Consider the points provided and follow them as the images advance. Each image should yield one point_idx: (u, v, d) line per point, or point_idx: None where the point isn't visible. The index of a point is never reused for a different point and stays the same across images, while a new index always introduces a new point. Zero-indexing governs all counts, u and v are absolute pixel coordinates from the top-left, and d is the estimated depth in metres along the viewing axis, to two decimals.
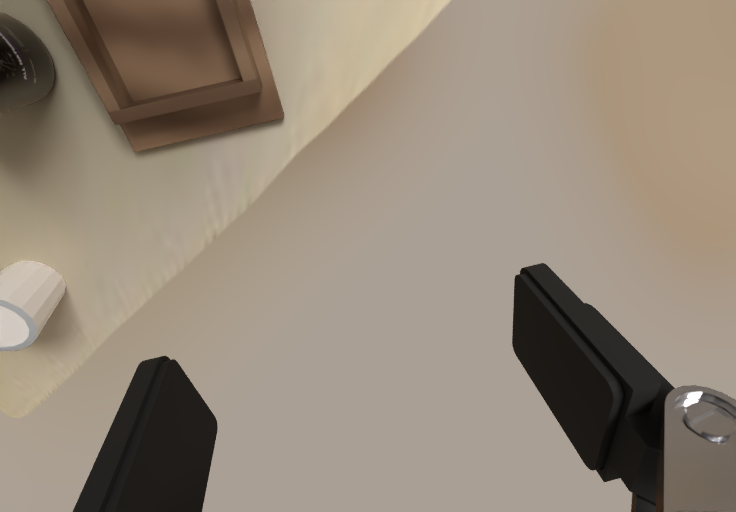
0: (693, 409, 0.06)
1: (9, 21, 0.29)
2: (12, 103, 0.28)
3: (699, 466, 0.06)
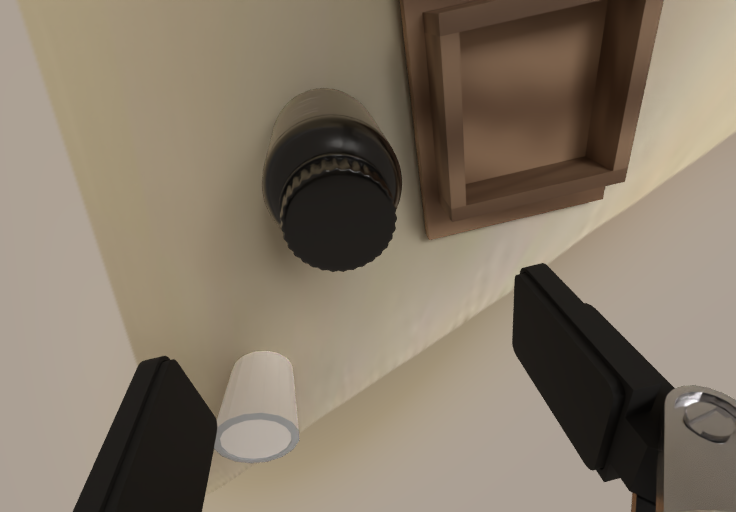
0: (693, 409, 0.06)
1: (361, 104, 0.23)
2: None
3: (699, 466, 0.06)
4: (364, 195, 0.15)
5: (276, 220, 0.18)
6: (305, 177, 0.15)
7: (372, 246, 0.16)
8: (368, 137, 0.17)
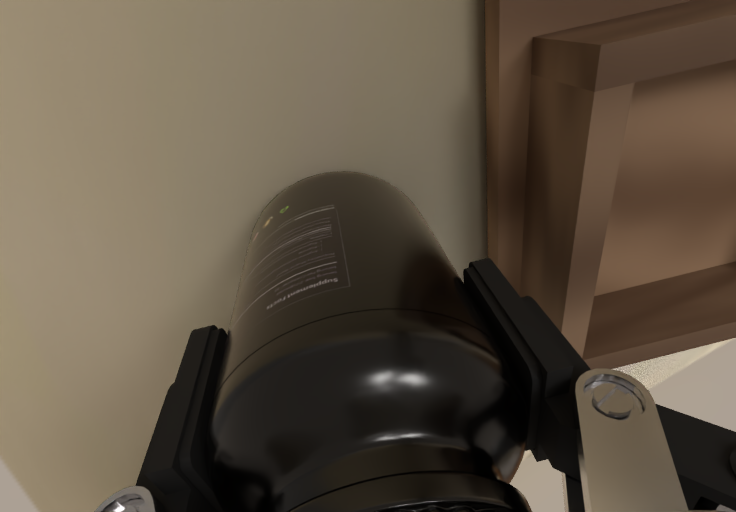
0: (598, 391, 0.07)
1: (408, 203, 0.13)
2: None
3: (595, 439, 0.06)
4: None
5: None
6: None
7: None
8: (473, 376, 0.06)
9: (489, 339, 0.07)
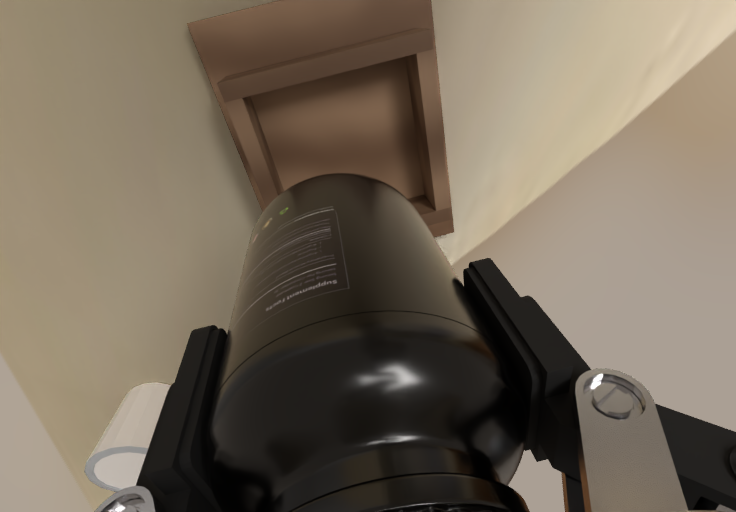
0: (598, 391, 0.07)
1: (408, 205, 0.13)
2: None
3: (595, 439, 0.06)
4: None
5: None
6: None
7: None
8: (473, 378, 0.06)
9: (488, 341, 0.07)
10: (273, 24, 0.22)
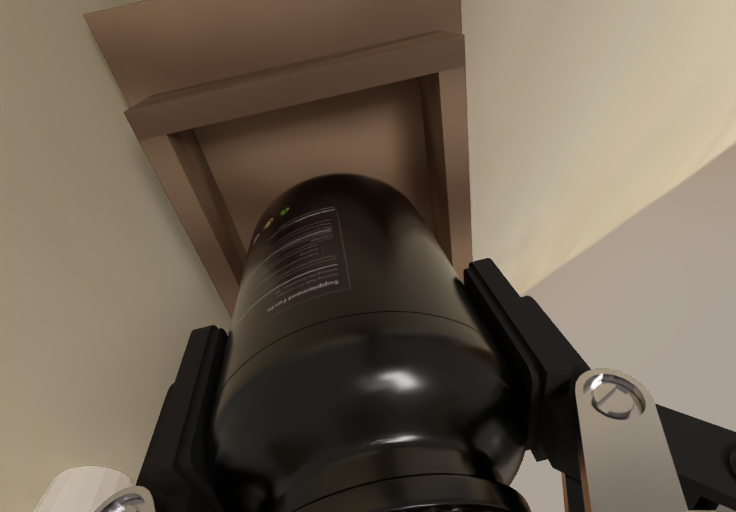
0: (598, 391, 0.07)
1: (409, 205, 0.13)
2: None
3: (595, 438, 0.06)
4: None
5: None
6: None
7: None
8: (474, 379, 0.06)
9: (489, 341, 0.07)
10: (221, 19, 0.15)
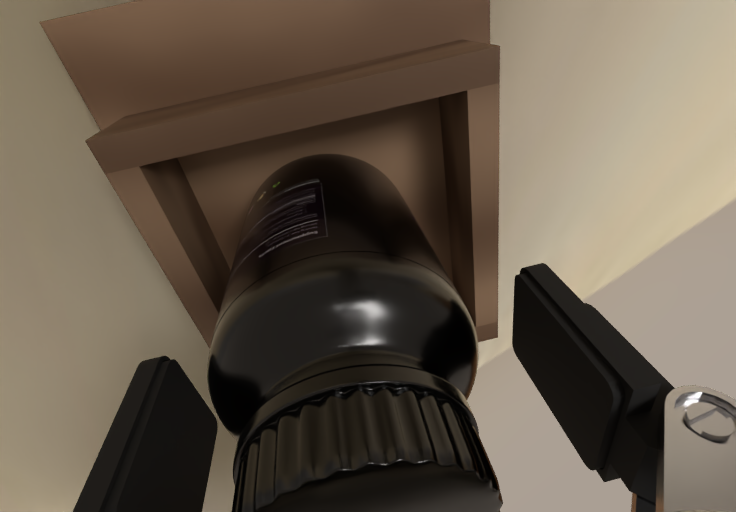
0: (693, 409, 0.06)
1: (387, 181, 0.14)
2: None
3: (699, 466, 0.06)
4: (435, 497, 0.06)
5: None
6: (287, 476, 0.06)
7: None
8: (425, 303, 0.08)
9: (442, 280, 0.09)
10: (206, 27, 0.12)
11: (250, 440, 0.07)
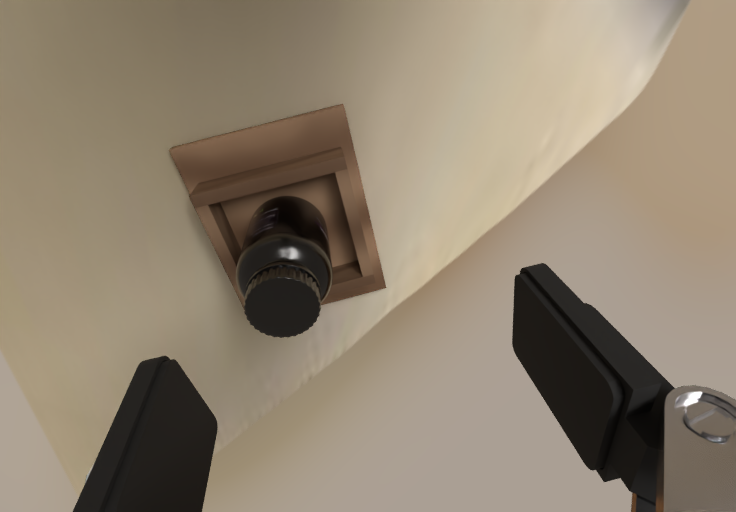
0: (693, 409, 0.06)
1: (311, 207, 0.32)
2: None
3: (699, 466, 0.06)
4: (296, 291, 0.24)
5: None
6: (258, 282, 0.23)
7: (306, 321, 0.25)
8: (304, 247, 0.26)
9: (314, 242, 0.27)
10: (232, 148, 0.30)
11: (249, 283, 0.24)
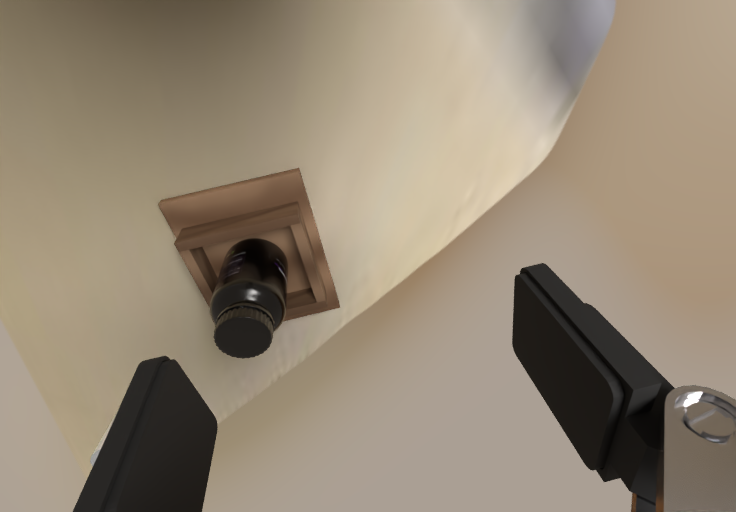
0: (693, 409, 0.06)
1: (273, 249, 0.40)
2: None
3: (699, 466, 0.06)
4: (253, 326, 0.32)
5: None
6: (224, 320, 0.31)
7: (261, 346, 0.33)
8: (261, 290, 0.34)
9: (270, 284, 0.35)
10: (209, 203, 0.38)
11: (218, 318, 0.33)
